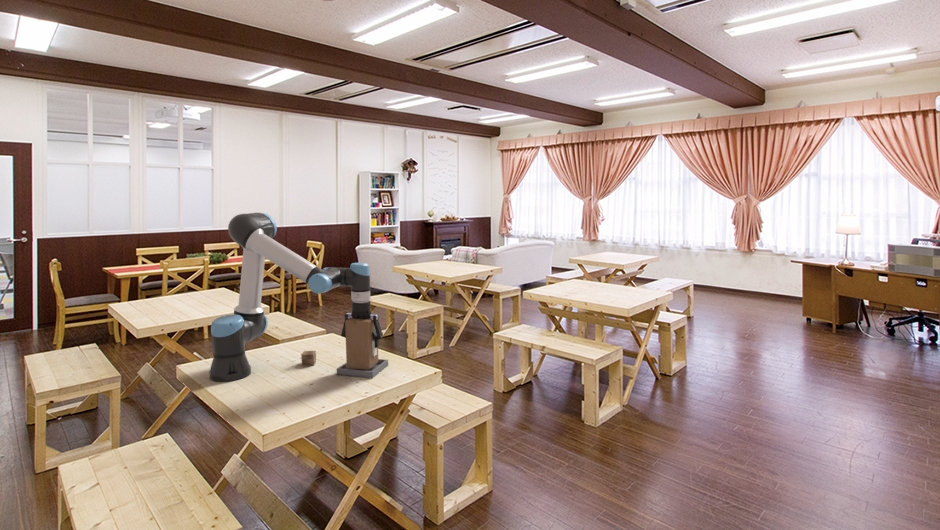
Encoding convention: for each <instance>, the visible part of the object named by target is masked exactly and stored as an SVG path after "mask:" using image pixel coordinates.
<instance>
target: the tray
mask: <svg viewBox="0 0 940 530" xmlns="http://www.w3.org/2000/svg"><path fill="white" fill-rule="evenodd" d="M388 366H389V359H382V358H378V363H377V364H376V365H375V366H373V367H372V368H371V369H370V370H363V369H349V368H347V361H346V362H345V363H343V364H342V365H340V366H339V367H337V368H336V375H337V376H346V377H357V378H365V379H366V378H368V379H374V378H375V377H376V376H378V374H380V373H381V372H382V371H384V370H385V369H386V368H387V367H388ZM384 368H385V369H384ZM379 372H380V373H379ZM373 377H374V378H373Z"/></svg>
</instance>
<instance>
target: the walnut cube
mask: <svg viewBox="0 0 940 530" xmlns="http://www.w3.org/2000/svg"><path fill="white" fill-rule="evenodd" d="M300 358H301V367H310V366H315V364H316V363H317V352H316V350H304V351H302V353H301V357H300Z"/></svg>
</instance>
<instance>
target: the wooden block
mask: <svg viewBox="0 0 940 530" xmlns="http://www.w3.org/2000/svg"><path fill="white" fill-rule="evenodd" d="M344 321H345V320H344ZM374 329H375V326H374V323H373V320H372V318H370V319H354V318H352V316H351V318H349V319H347V320H346V321H345V331H346V338H345V355H346V356H345V357H346V358H345V359H346V362H347V368H349V369H363V370H370V369H371V368H372V367H373V366H375V365H376V364H377V363H378V359H379V347H378V348H377V355H375V356H373V351H372V340H374V339H373V337H372V331H373V330H374ZM375 331H376V330H375Z"/></svg>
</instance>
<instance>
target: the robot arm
mask: <svg viewBox="0 0 940 530" xmlns="http://www.w3.org/2000/svg"><path fill="white" fill-rule="evenodd" d="M277 227H278V226H277V223H276V221H275V219H274V218H273V217H272V216H271V215H269V214H267V213H264V212H251V213H239V214H236V215H235V216H233V217H232V218H231V220H230V221H229V223H228V226H227V231H228V236H229V237H230V238H231V239H232V241H234V243H236V244H237V245H238V246H240V247H241V248H242V249H243V251H242V262H241V273H240V283H239V284H240V285H239V295H238V305H237V306H235V307H234V308H233V309H234V310H233V314H226V315H221V316H219V317H217V318H215V319H213V321H212V322H211V325H210V334H211V335H210V336H211V346H212V362H211V365H210V370H209V379H210V380H211V381H214V382H231V381H237V380H242V379H244V378H247V377H248V376H250V375H251V374H252V366H251V364H250V363H249V360H248V357H247V355H246V345H245V344H246V343H248V342H251V341H253V340H256V339H258V338H259V337H260V336H262V335H263V334H264V333H265V331H266V330H267V329H268V324H269V321H268V318H267V316H266V314H265V309H264V308H263V306H262V294H263V285H264V273H265V263H266V259H267V260H268V261H270V262H271V263H273V264H274V265H275V266H278V267H279V268H281V269H282V270H284V271H286V272H287V273H289V274H290V275H292V276H294V277H296V278H297V279H299V280H300V281H302V282H304V283H305V284H307V285H308V288H309V290H310V291H311V292H312V293H314V294H324V293H327V292H329V291H331V290H332V289H336V288H338V287H350V290H351V291H350V292H351V301H352V302H351V312H347V313H345V314H344V320H343V321H344V322H343V326H342V330H341V334H340V336H341V337H342V338H344V339H346V331H345V321H346V320H347V319H349V318H351V317H352V318H354V319H370V318H372V320H373V323H374V326H375V329H374V330H373V331H372V337H373V339H374V340H372V351H373V356H375V355H377V348H378V349H379V347H380V344H379V343H380V341H379V340H381V339H383V338H384V334H383V331H382V328H381V325H380V321H379V314H372V312H371V310H372V308H371V307H372V305H371V304H372V303H371V301H370V300H371V273H370V271H371V270H370V265H369V264H368V262H352V263H351V264H350V267H334V266H330V267H324V268H320V267H318V266H317V265H315V264H314V263H312V262H310V261H309V260H307V259H306V258H304V257H303V256H301V255H299V254H298V253H296V252H295V251H292V250H291V249H290V248H288V247H286V246H284V245H283V244H282V243H279V242H278V241H277V240H275V239H273V238H274V237H275V236H276V235H277V231H278V230H277ZM375 330H376V331H375Z"/></svg>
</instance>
